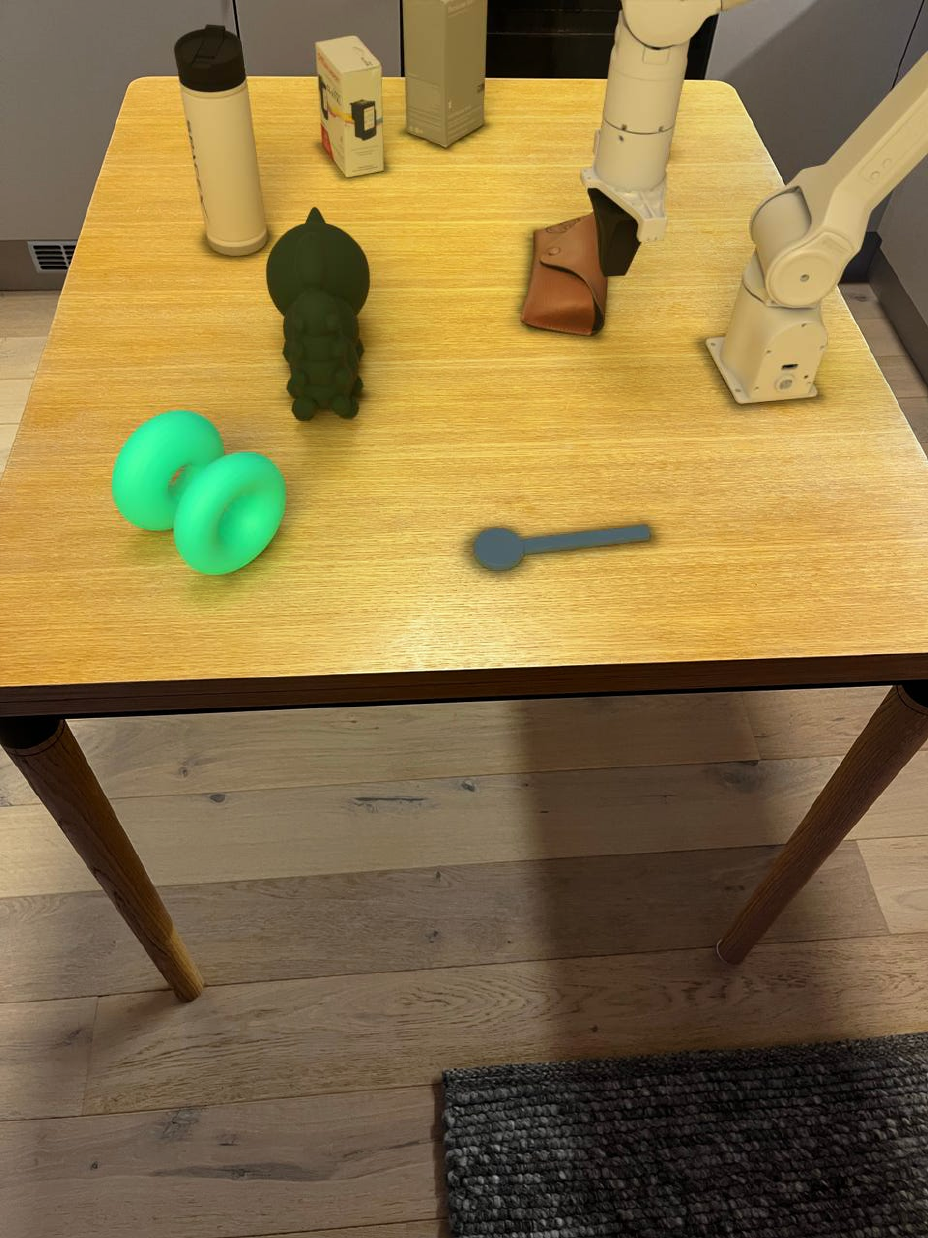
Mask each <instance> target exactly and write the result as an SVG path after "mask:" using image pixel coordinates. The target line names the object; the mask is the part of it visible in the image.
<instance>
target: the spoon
mask: <svg viewBox="0 0 928 1238" xmlns="http://www.w3.org/2000/svg"><path fill="white" fill-rule="evenodd" d="M650 540H651V532H650V529H649V527H648V525H647V524H645V525H637V526H628V527H618V528H608V529H599V530H591V531H581V532H573V533H564V534H557V535H548V536H547V535H546V536H538V537H529V538H521V537H520V536H519V535H518V534H517V533H515V532H513V531H511V530H510V529H506V528H499V527H496V528H489V529H486V530H484V531H482V532H480V534H478V535H477V537H476V538H475V540H474V543H473V556H474V558H475V560H476V561H477V563H478V564H480V565H481V566H482V567H484V568H486V569H488V570H492V571H501V572H502V571H508V570H512V569H513V568H515V567H516V566H518V565H519V564H520V563H521V561H522V560H523V558H524V555H533V554H534V555H535V554H542V553H552V552H559V551H567V550H577V549H586V548H594V547H595V548H596V547H603V546H612V545H620V544H629V543H638V542H646V541H647V542H648V541H650Z"/></svg>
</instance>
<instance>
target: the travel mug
mask: <svg viewBox="0 0 928 1238" xmlns="http://www.w3.org/2000/svg"><path fill="white" fill-rule="evenodd" d="M173 54H174V59H175V64H176V69H177V76H178V85H179V88H180V95H181V101H182V107H183V111H184V118H185V123H186V129H187V135H188V139H189V146H190V150H191V151H190V152H191V157H192V162H193V167H194V173H195V178H196V184H197V189H198V194H199V195H198V196H199V200H200V201H199V202H200V205H201V212H202V217H203V222H204V228H205V233H206V239H207V243H208V246H209V247H210V248H211V249H212V250H213V251H215V252H216V253H218V254H221V255H225V256H229V257H243V256H248V255H251V254H254V253H256V252H258V251H259V250H261V249H262V248H263V247H265V245H266V244H267V241H268V231H267V224H266V217H265V209H264V208H265V207H264V201H263V193H262V184H261V176H260V169H259V162H258V154H257V146H256V139H255V131H254V123H253V116H252V115H253V114H252V108H251V100H250V93H249V84H248V76H247V73H246V67H245V59H244V51H243V42H242V41H241V39H240V37H238V36H237V34H235V33H234V32H231V31H229V30H226V26H225V25H220V24H209V23H208V24H205V26H204V28H200V29H195V30H191V31H189V32H187V33H185V34H183V35H182V36H180V37H179V38H178V39H177V41H176V42H175V43H174V46H173Z"/></svg>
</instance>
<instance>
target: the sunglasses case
mask: <svg viewBox="0 0 928 1238" xmlns="http://www.w3.org/2000/svg"><path fill="white" fill-rule="evenodd" d="M532 236H533V249H532V250H533V252H532V261H531V268H530V275H529V281H528V286H527V292H526V294H525V298H524V302H523V306H522V311H521V315H520V322H521V323H523V324H525V326H527V327H532V328H537V329H540V330H544V331H548V332H556V333H560V334H568V335H576V336H586V337H591V336H593V335H595V334H598V333H600V331H601V330H602V329H603V328H604V326H605V323H606V311H607V299H608V281H609V277H604V276H603V274H602V272H601V269H600V265H599V256H598V240H597V228H596V221H595V216H594V211H593V210H592V211H591V212H590V213H588V214H585V215H582V216H579V217H575V218H572V219H568V220H565V221H561V222H559V223H555V224H552V225H549V226H547V227H543V228H541V229H534V230H533V235H532Z"/></svg>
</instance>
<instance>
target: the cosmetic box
mask: <svg viewBox="0 0 928 1238" xmlns="http://www.w3.org/2000/svg"><path fill="white" fill-rule="evenodd" d="M402 19H403V21H402V22H403V25H402V26H403V53H404V55H403V56H404V57H403V58H404V91H405V93H404V94H405V123H406V124H405V125H406V127H405V129H406V132H408V133H410V134H411V135H415V136H417V137H420V138H423V139H425V140H428V141H430V142H432V143H435V144H437V145H439V146H442V147H444V148H448V147H450V146H451V145H453V144H454V143H455V142H457V141H458V140H461V139H462V138H464V137H465V136H467V135H469V134H470V133H472V132H474V131H475V130H477V129H478V128H480V127H483V125H484V123H485V96H486V95H485V93H486V64H487V63H486V61H487V60H486V59H487V58H486V57H487V30H488V29H487V26H488V25H487V24H488V0H402Z"/></svg>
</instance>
